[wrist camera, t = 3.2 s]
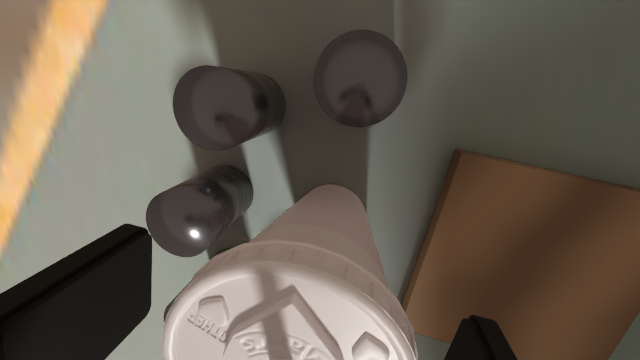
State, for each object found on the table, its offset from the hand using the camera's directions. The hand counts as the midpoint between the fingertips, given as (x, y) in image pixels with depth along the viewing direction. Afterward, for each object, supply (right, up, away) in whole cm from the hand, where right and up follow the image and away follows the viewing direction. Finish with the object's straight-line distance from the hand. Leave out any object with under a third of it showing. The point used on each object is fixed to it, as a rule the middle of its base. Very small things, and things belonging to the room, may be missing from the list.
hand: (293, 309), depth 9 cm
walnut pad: (+11, -1, +6) cm, 13 cm away
